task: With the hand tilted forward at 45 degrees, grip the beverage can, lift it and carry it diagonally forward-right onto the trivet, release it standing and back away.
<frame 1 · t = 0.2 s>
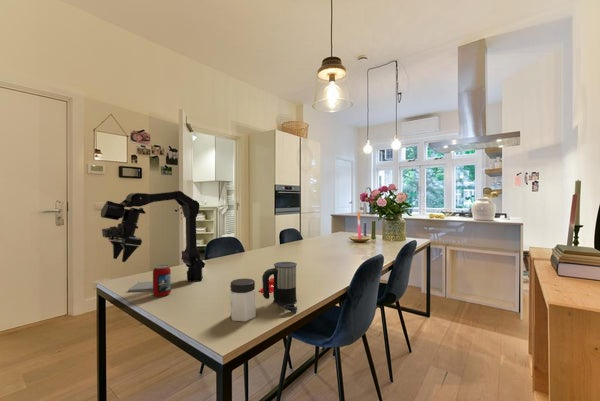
hand: (119, 260, 115), 16 cm above the table, tool pointing down, fingers open, 9 cm apart
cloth: (272, 288, 130), on the table
milk frother: (286, 306, 107), on the table
trivet: (146, 287, 130), on the table
jar: (243, 317, 97), on the table
beverage can: (162, 295, 120), on the table
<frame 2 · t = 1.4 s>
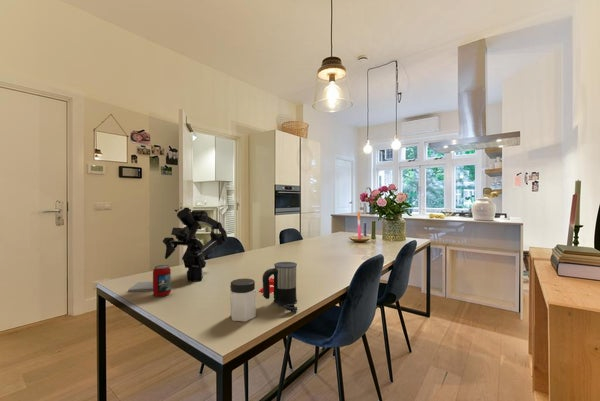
hand: (174, 259, 127), 13 cm above the table, tool tilted 45°, fingers open, 9 cm apart
nothing on the table moved.
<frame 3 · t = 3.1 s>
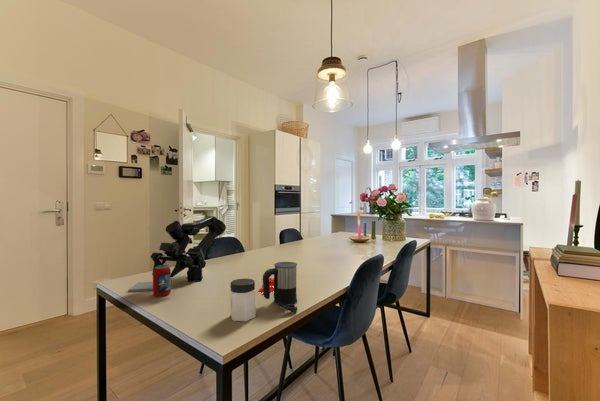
hand: (161, 276, 119), 8 cm above the table, tool tilted 45°, fingers open, 9 cm apart
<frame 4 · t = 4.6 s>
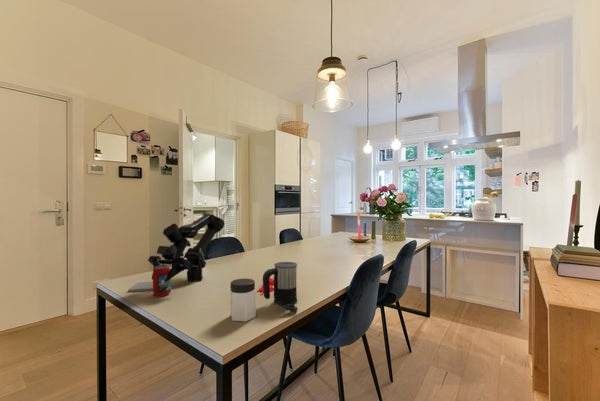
hand: (159, 280, 118), 7 cm above the table, tool tilted 45°, fingers closed on beverage can, 7 cm apart
beverage can: (162, 295, 120), on the table, touching gripper
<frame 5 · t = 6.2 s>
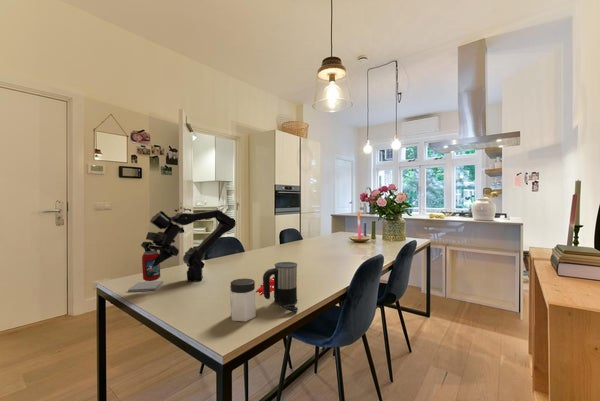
hand: (148, 265, 122), 12 cm above the table, tool tilted 45°, fingers closed on beverage can, 7 cm apart
beverage can: (151, 279, 124), point 5 cm above the table, touching gripper
when the fingers open (9 cm above the table, at t = 8.2 s): beverage can drops 1 cm, resting on trivet.
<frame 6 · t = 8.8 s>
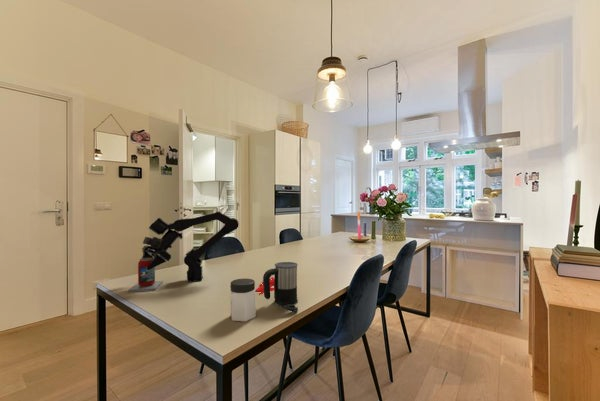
hand: (143, 268, 128), 9 cm above the table, tool tilted 45°, fingers open, 9 cm apart
beverage can: (146, 285, 130), point 1 cm above the table, touching trivet
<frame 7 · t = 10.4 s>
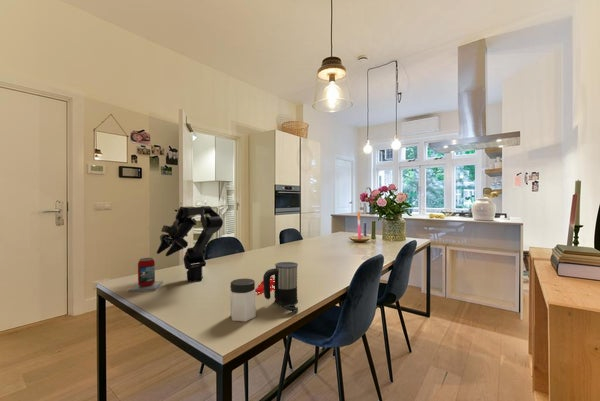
hand: (161, 254, 136), 14 cm above the table, tool tilted 45°, fingers open, 9 cm apart
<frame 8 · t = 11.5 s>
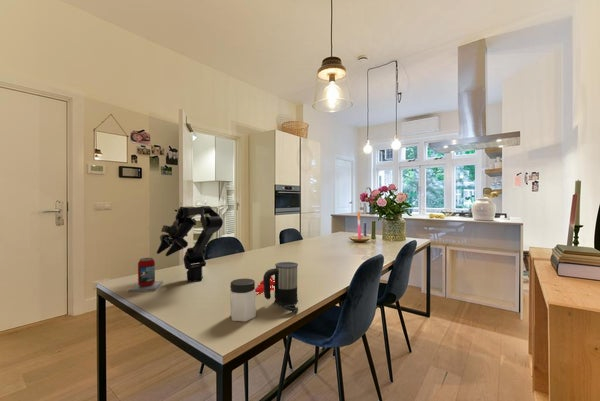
hand: (161, 254, 136), 14 cm above the table, tool tilted 45°, fingers open, 9 cm apart
at the end: beverage can 0.1 cm from the trivet (horizontally); beverage can tilted 0°; the gripper is holding nothing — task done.
